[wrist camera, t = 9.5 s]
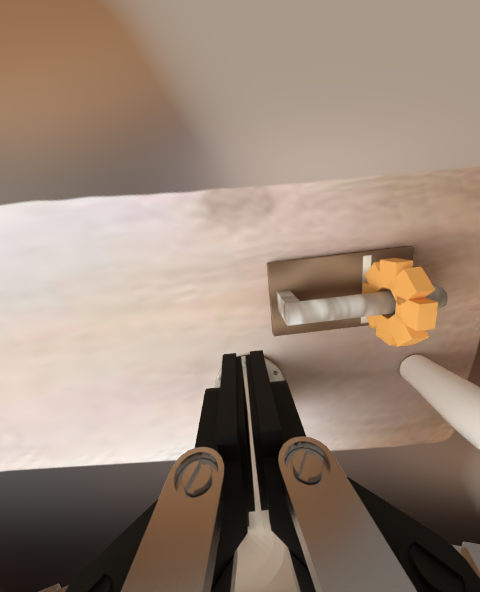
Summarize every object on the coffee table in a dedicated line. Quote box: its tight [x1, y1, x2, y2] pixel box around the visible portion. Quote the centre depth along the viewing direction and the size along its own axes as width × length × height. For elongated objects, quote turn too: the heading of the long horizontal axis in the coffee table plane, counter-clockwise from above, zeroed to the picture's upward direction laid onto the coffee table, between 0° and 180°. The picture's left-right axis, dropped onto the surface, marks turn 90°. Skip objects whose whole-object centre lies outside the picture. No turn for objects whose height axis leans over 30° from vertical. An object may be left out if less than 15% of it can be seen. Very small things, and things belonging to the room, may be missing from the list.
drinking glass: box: [400, 355, 480, 450], centre depth 34 cm, size 7×7×15 cm
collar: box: [362, 258, 438, 347], centre depth 30 cm, size 11×2×11 cm, turn 7°
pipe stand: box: [267, 246, 447, 336], centre depth 32 cm, size 12×22×9 cm, turn 97°
